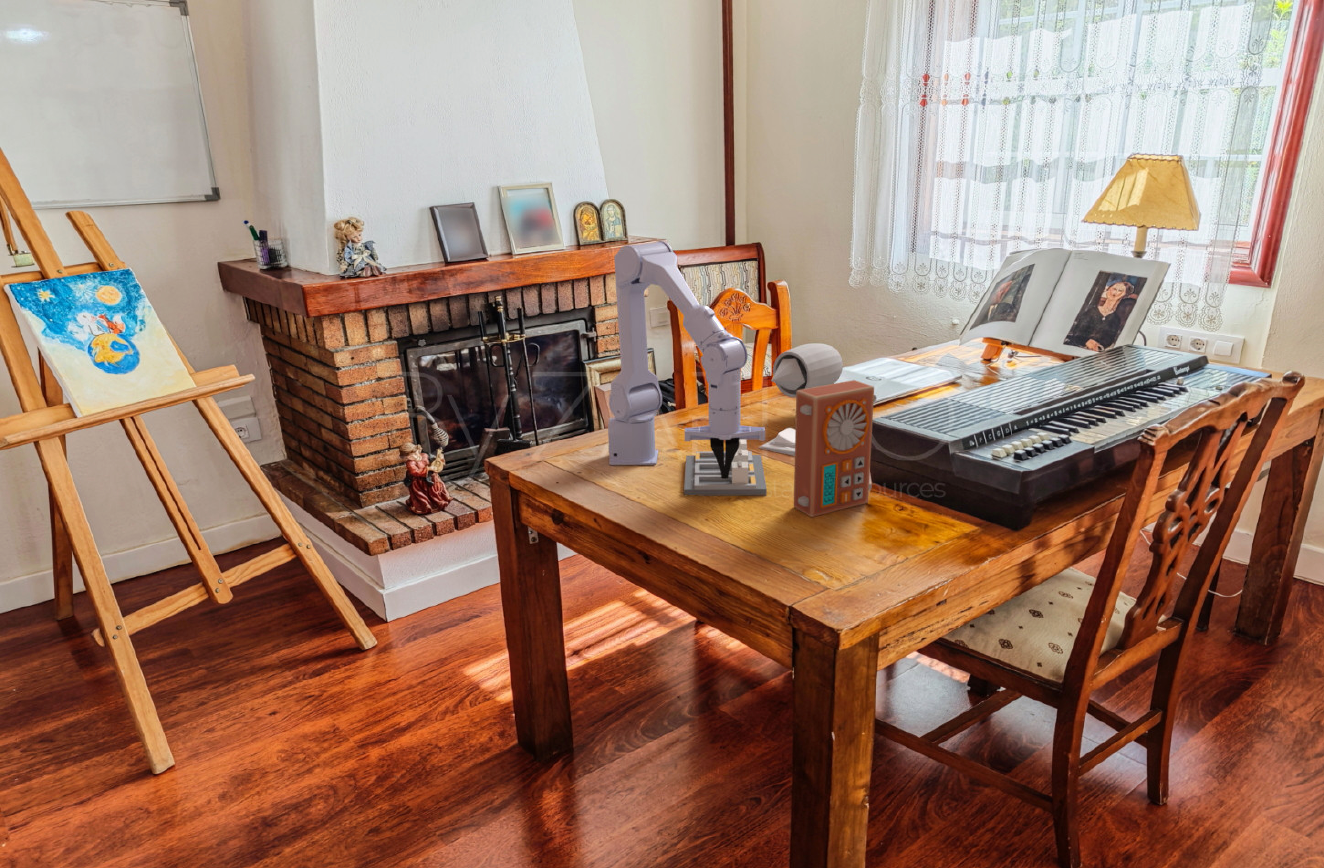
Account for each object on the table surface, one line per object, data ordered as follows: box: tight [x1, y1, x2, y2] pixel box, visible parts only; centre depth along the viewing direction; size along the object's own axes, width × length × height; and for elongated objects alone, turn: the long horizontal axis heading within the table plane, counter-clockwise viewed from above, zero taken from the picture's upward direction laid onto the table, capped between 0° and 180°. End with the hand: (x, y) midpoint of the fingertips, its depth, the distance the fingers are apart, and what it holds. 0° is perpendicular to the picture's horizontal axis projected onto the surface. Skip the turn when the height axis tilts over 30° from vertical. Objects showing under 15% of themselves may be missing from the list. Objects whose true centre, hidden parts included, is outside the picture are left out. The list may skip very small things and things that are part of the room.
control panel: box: [793, 379, 877, 518], centre depth 151 cm, size 21×7×15 cm
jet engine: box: [770, 342, 844, 399], centre depth 198 cm, size 15×20×18 cm
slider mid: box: [732, 449, 749, 462], centre depth 167 cm, size 3×3×4 cm
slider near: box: [732, 461, 749, 484], centre depth 161 cm, size 3×3×4 cm
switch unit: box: [683, 450, 768, 496], centre depth 168 cm, size 15×18×2 cm
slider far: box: [738, 439, 748, 450], centre depth 173 cm, size 3×3×4 cm
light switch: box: [758, 427, 796, 457], centre depth 183 cm, size 11×4×13 cm
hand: (724, 476), depth 161 cm, fingers closed
